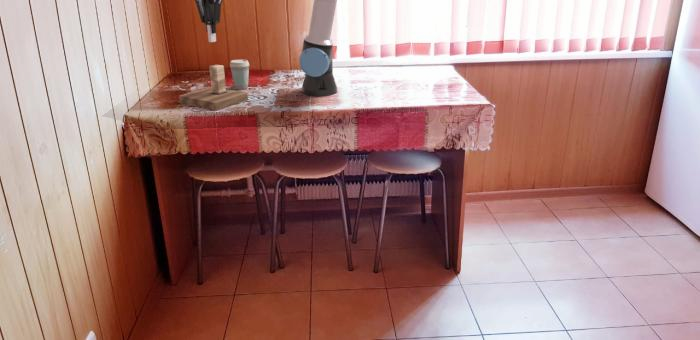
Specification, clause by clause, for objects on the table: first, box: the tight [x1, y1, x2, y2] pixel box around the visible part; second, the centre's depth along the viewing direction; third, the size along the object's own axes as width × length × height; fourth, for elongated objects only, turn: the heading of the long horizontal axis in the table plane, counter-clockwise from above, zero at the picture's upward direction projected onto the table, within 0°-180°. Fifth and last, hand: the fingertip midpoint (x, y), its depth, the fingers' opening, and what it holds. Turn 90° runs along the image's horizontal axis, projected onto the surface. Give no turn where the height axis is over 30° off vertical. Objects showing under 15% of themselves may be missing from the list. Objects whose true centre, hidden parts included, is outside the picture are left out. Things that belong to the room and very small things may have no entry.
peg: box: [208, 64, 227, 95], centre depth 208 cm, size 4×4×14 cm
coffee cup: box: [229, 59, 250, 91], centre depth 227 cm, size 8×8×12 cm
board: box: [178, 86, 249, 112], centre depth 208 cm, size 20×18×3 cm
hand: (212, 41), depth 204 cm, fingers closed
